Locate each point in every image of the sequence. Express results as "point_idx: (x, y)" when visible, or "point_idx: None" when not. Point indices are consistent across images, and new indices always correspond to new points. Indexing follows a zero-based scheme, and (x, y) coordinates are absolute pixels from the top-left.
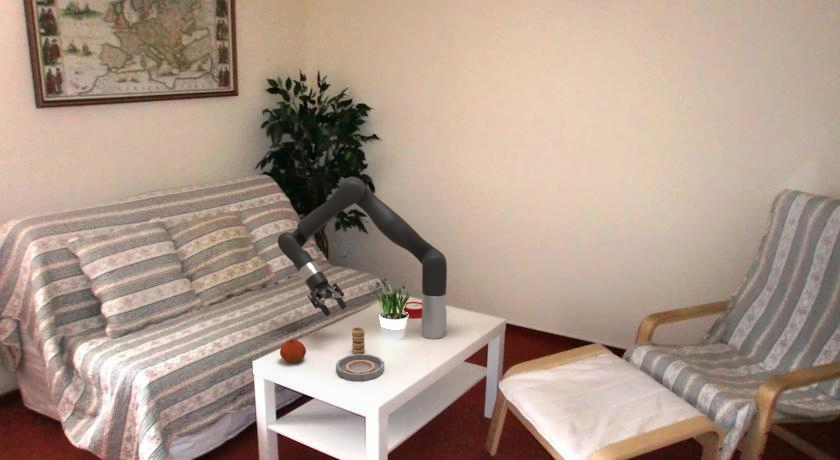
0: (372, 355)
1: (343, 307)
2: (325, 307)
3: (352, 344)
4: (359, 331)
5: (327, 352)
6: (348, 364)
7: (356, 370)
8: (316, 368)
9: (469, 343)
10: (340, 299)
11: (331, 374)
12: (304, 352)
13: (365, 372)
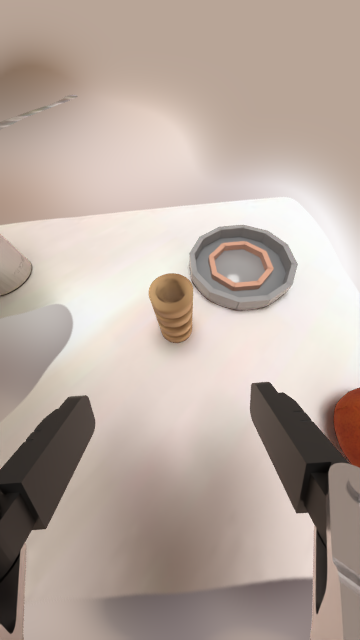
0: (192, 267)
1: (87, 413)
2: (308, 435)
3: (188, 326)
4: (181, 277)
5: (236, 393)
6: (255, 281)
7: (249, 266)
8: (316, 339)
9: (29, 221)
10: (26, 472)
11: (298, 294)
12: (358, 389)
13: (248, 243)
